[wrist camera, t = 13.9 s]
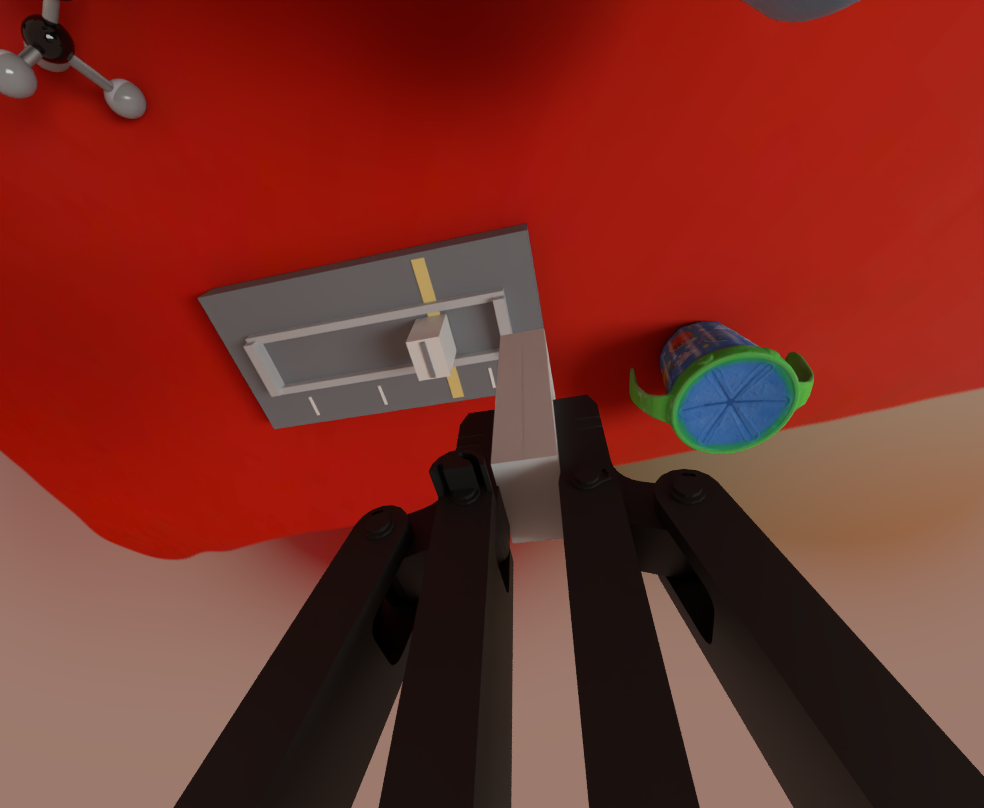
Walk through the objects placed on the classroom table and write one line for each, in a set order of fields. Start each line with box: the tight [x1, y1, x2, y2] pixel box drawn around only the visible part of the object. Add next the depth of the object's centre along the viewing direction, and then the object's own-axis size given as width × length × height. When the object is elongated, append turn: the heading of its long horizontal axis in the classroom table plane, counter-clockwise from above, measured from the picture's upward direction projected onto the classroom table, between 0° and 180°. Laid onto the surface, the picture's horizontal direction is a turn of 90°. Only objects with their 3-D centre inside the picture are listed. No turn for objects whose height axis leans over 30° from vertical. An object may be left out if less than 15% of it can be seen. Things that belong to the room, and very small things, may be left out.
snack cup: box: [629, 321, 814, 454], centre depth 44 cm, size 16×11×10 cm
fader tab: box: [406, 314, 457, 381], centre depth 43 cm, size 4×3×5 cm
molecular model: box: [0, 0, 147, 119], centre depth 30 cm, size 8×12×11 cm
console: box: [198, 223, 544, 429], centre depth 47 cm, size 16×32×4 cm, turn 102°
